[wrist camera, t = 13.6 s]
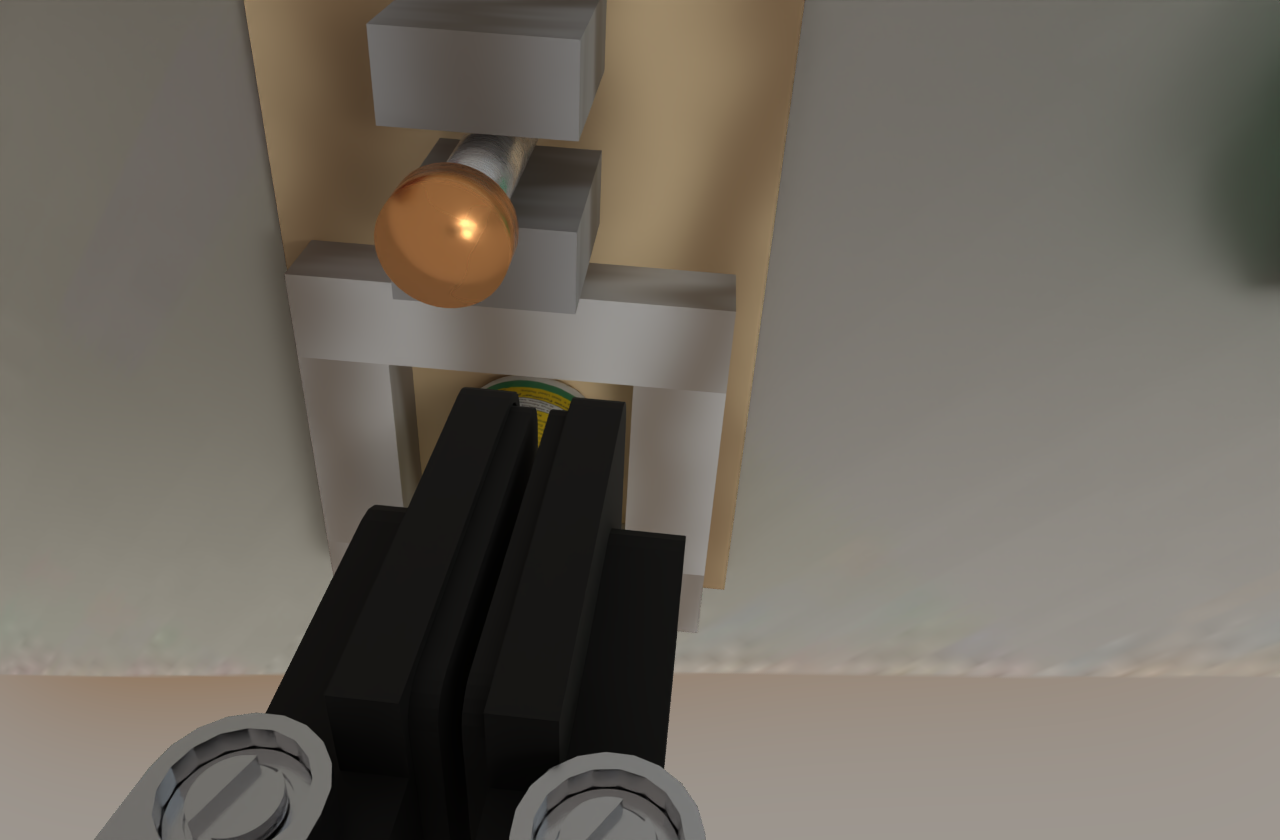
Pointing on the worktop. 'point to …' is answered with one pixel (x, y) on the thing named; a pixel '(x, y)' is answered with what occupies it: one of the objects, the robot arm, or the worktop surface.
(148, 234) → the worktop surface
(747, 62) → the dock
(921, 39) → the worktop surface
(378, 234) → the pin
